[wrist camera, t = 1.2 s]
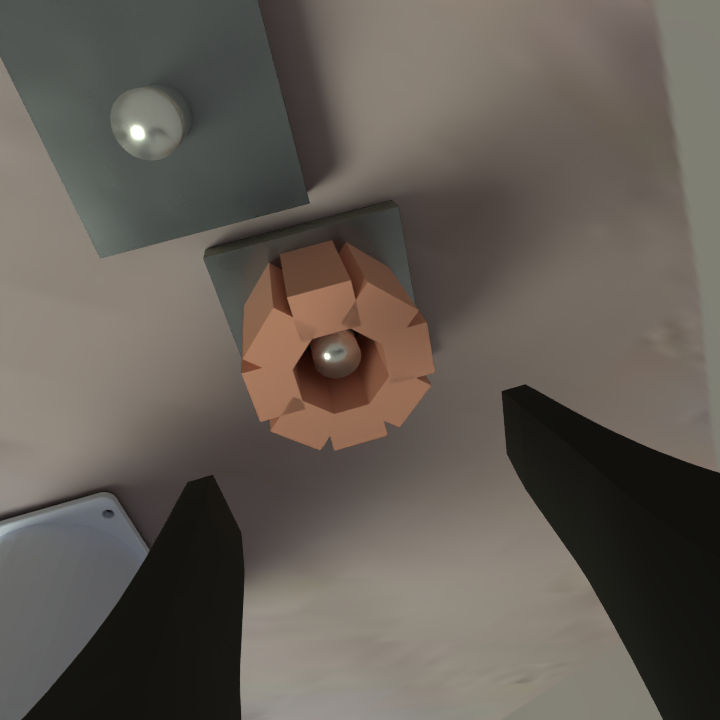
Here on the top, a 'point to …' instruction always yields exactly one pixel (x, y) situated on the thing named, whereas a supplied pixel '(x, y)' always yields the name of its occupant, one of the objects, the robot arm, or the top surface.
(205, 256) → the stand
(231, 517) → the robot arm
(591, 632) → the top surface
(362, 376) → the ring
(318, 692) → the top surface
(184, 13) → the square peg base
